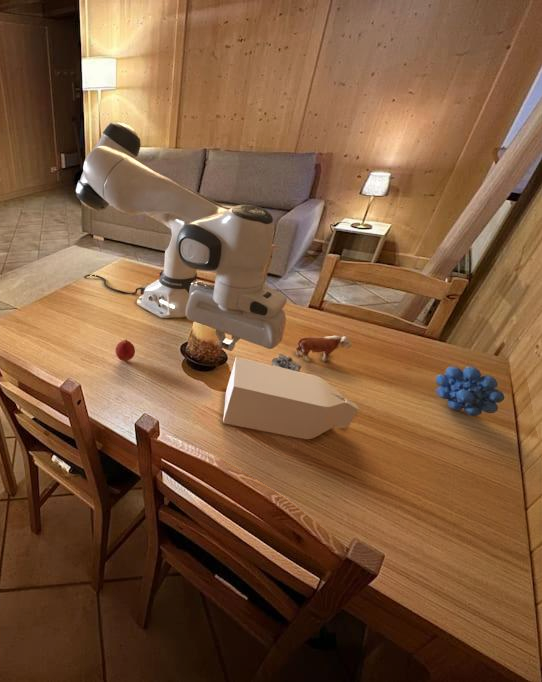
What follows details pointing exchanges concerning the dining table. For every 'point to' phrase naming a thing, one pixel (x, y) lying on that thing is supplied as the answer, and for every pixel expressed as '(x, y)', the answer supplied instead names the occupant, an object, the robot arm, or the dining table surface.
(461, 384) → the grapes
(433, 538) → the dining table surface
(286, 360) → the red grey filled tin
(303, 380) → the milk
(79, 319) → the dining table surface
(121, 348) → the onion
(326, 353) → the bull figurine
